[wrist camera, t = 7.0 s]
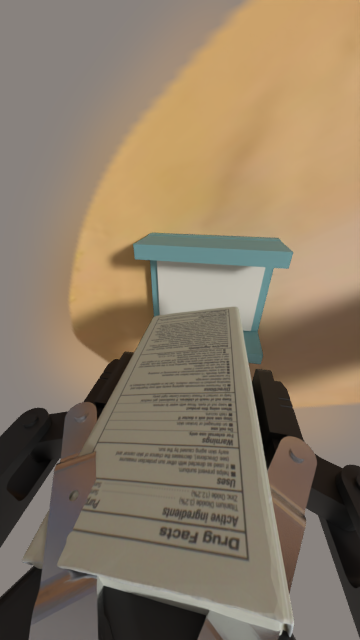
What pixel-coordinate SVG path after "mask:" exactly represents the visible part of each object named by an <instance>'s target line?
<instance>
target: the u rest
mask: <svg viewBox="0 0 360 640" xmlns="http://www.w3.org/2000/svg"><path fill="white" fill-rule="evenodd" d="M133 246H134V256H135V259H139V260H150V265H151V280H152V295H153V310H154V316H159V315H166V314H172V313H180V312H189V311H198V310H206V309H215V308H225V307H238V309H239V312H240V318H241V323H242V329H243V335H244V341H245V347H246V352H247V358H248V363H254V364H261V361H262V358H263V352H262V348H261V344H260V340H259V336H258V328H259V324H260V320H261V316H262V312H263V308H264V304H265V300H266V296H267V292H268V288H269V284H270V280H271V276H272V272H273V269H274V268H286V269H288V268H289V265H290V262H291V258H292V255H293V252H292V251H291V250H290V249H289V248H288V247H287V246H286V245H285V244H283V243H282V242H281V240H280V239H279V238H265V237H241V236H217V235H193V234H169V233H150V234H149V235H148V236H146V237H144V238H143V239H141V240H139V241H138V242H136V243H134V244H133Z"/></svg>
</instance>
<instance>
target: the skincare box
mask: <svg viewBox="0 0 360 640" xmlns="http://www.w3.org/2000/svg"><path fill="white" fill-rule="evenodd" d="M93 451H96V481H95V483H94V485H93V487H92V490H91V492H90V494H89V496H88V498H87V500H86V502H85V505H84V507H83V509H82V511H81V513H80V515H79V517H78V519H77V521H76V524H75V526H74V528H73V530H72V532H71V533H70V534H69V535H68V537H67V540H66V545H65V547H64V550H63V552H62V554H61V556H60V558H59V560H58V563H57V566H58V567H60V568H63V569H71V570H75V571H78V572H83V573H87V574H92V575H97V576H98V577H99V579H100V581H101V582H102V584H103V585H104V586H107V587H111V588H114V589H118V590H121V591H125V592H128V593H131V594H135V595H138V596H142V597H145V598H149V599H152V600H155V601H159V602H162V603H166V604H169V605H172V606H176V607H179V608H183V609H186V610H190V611H193V612H197V613H200V614H204V615H207V613H208V612H209V610H211V611H214V612H217V613H219V614H222V615H225V616H228V617H231V618H234V619H237V620H240V621H243V622H247V623H250V624H254V625H257V626H261V627H264V628H268V629H271V630H275V631H280V634H279V635H281V634H282V631H283V630H285V631H287V633H288V635H289V637H291V635H292V631H293V627H294V620H293V614H292V609H291V603H290V597H289V591H288V586H287V580H286V574H285V569H284V563H283V558H282V552H281V546H280V541H279V535H278V530H277V524H276V519H275V513H274V508H273V502H272V496H271V491H270V485H269V479H268V473H267V467H266V462H265V456H264V450H263V444H262V438H261V433H260V427H259V421H258V416H257V410H256V404H255V399H254V393H253V387H252V381H251V375H250V369H249V364H248V358H247V352H246V347H245V341H244V335H243V329H242V323H241V318H240V312H239V309H238V307H225V308H215V309H206V310H198V311H189V312H180V313H172V314H166V315H159V316H154V317H153V319H152V321H151V323H150V324H149V326H148V328H147V330H146V332H145V334H144V336H143V337H142V339H141V341H140V343H139V345H138V347H137V349H136V350H135V352H134V354H133V356H132V358H131V360H130V361H129V363H128V365H127V367H126V369H125V371H124V372H123V374H122V376H121V378H120V380H119V382H118V384H117V385H116V387H115V389H114V391H113V393H112V395H111V396H110V398H109V400H108V402H107V404H106V406H105V407H104V409H103V411H102V413H101V415H100V417H99V419H98V420H97V422H96V424H95V426H94V428H93V430H92V432H91V433H90V435H89V437H88V439H87V441H86V442H85V444H84V446H83V448H82V450H81V452H80V454H79V456H81V455H84V454H87V453H90V452H93ZM78 495H79V492H75V493H73V495H72V496H71V498H70V501H74V500H76V499H77V497H78ZM48 516H49V511H48V512H47V514H46V516H45V518H44V520H43V522H42V524H41V525H40V527H39V529H38V531H37V533H36V535H35V537H34V538H33V540H32V542H31V544H30V546H29V548H28V549H27V551H26V553H25V555H24V557H23V559H22V562H23V563H27V564H29V565H34V566H35V567H37V568H39V569H42V566H43V558H44V550H45V541H46V533H47V525H48Z"/></svg>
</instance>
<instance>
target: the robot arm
mask: <svg viewBox="0 0 360 640" xmlns="http://www.w3.org/2000/svg"><path fill="white" fill-rule="evenodd" d="M133 354H134V353H133V352H124V353H123V355H122V356H121V358H120V360H119V359H115V360H113V361H112V362H111V363H109V364H108V365H107V367H106V368H105V370H104V372H103V373H102V375H101V376H100V379H98V381H97V382H96V384H95V385H94V387H93V388H92V390H91V391H90V393H89V394H88V396H87V398H86V399H85V400H84V402H82V403H79V404H77V405H75V406H74V407H72V408H71V409H70V410H69V411H68V412H62V413H56V414H48V412H47V411H46V410H45V409H43V408H34V409H31V410H29V411H27V412H25V413H23V414H22V415H21V416H20V417H19V418H18V419H17V420H16V421H15V422H14V423H13V424H12V425H11V426H10V427H9V428H8V429H7V430H6V431H5V432H4V433H3V434H2V435H1V436H0V547H1V546H2V544H3V543H4V541H5V540H6V538H7V537H8V535H9V533H10V532H11V530H12V529H13V528H14V526H15V525H16V523H17V522H18V520H19V519H20V517H21V515H22V514H23V512H24V511H25V509H26V508H27V506H28V505H29V503H30V502H31V500H32V499H33V497H34V496H35V494H36V493H37V491H38V490H39V488H40V487H41V485H42V484H43V482H44V481H45V479H46V478H47V476H48V475H49V473H50V472H51V470H52V469H53V467H54V466H55V464H56V463H57V461H58V460H59V458H61V460H60V463H58V464H56V467H55V469H54V475H53V484H52V492H51V501H50V509H49V516H48V525H47V533H46V541H45V550H44V558H43V566H42V569H39V568H37V567H35V566H33V567H32V568H31V569H30V570H29V571H28V572H27V573H26V574H25V575H24V576H22V577H21V578H20V579H19V580H18V581H17V582H16V583H15V584H14V585H13V586H12V587H11V588H10V589H8V590H7V591H6V592H5V593H4V594H3V595H2V596H1V597H0V640H296V639H295V637H294V635H293V633H292V635H291V637H289V635H288V633H287V631H285V630H283V631H282V634H281V635H279V634H280V631H275V630H271V629H268V628H264V627H261V626H257V625H254V624H250V623H247V622H243V621H240V620H237V619H234V618H231V617H228V616H225V615H222V614H219V613H217V612H214V611H211V610H209V612H208V613H207V615H204V614H200V613H197V612H193V611H190V610H186V609H183V608H179V607H176V606H172V605H169V604H166V603H162V602H159V601H155V600H152V599H149V598H145V597H142V596H138V595H135V594H131V593H128V592H125V591H121V590H118V589H114V588H111V587H107V586H104V585H103V584H102V582H101V581H100V579H99V577H98V576H97V575H92V574H87V573H83V572H78V571H75V570H71V569H63V568H60V567H58V566H57V563H58V560H59V558H60V556H61V554H62V552H63V550H64V547H65V545H66V540H67V537H68V535H69V534H70V533H71V532H72V530H73V528H74V526H75V524H76V521H77V519H78V517H79V515H80V513H81V511H82V509H83V507H84V505H85V502H86V500H87V498H88V496H89V494H90V492H91V490H92V487H93V485H94V483H95V481H96V451H93V452H90V453H87V454H84V455H81V456H79V454H80V452H81V450H82V448H83V446H84V444H85V442H86V441H87V439H88V437H89V435H90V433H91V432H92V430H93V428H94V426H95V424H96V422H97V420H98V419H99V417H100V415H101V413H102V411H103V409H104V407H105V406H106V404H107V402H108V400H109V398H110V396H111V395H112V393H113V391H114V389H115V387H116V385H117V384H118V382H119V380H120V378H121V376H122V374H123V372H124V371H125V369H126V367H127V365H128V363H129V361H130V360H131V358H132V356H133ZM252 387H253V393H254V399H255V404H256V410H257V416H258V421H259V427H260V433H261V438H262V444H263V450H264V456H265V462H266V467H267V473H268V479H269V485H270V491H271V496H272V502H273V508H274V513H275V519H276V524H277V530H278V535H279V541H280V546H281V552H282V558H283V563H284V569H285V574H286V580H287V586H288V591H289V593H290V589H291V585H292V581H293V577H294V572H295V568H296V564H297V560H298V555H299V552H300V548H301V544H302V539H303V535H304V531H305V526H306V518H305V516H304V514H305V509H306V508H307V509H309V510H310V511H312V512H314V513H316V514H317V515H318V516H319V519H320V522H321V525H322V528H323V531H324V534H325V537H326V540H327V543H328V546H329V549H330V552H331V555H332V558H333V561H334V563H335V566H336V569H337V572H338V575H339V578H340V581H341V584H342V587H343V590H344V593H345V596H346V599H347V602H348V605H349V608H350V611H351V614H352V616H353V620H354V622H355V625H356V628H357V631H358V634H359V637H360V467H359V466H356V465H346V466H345V467H344V468H341V467H339V466H336V465H334V464H332V463H330V462H328V461H326V460H324V459H322V458H320V457H319V456H317V455H316V454H315V453H314V452H313V450H312V449H311V448H310V447H309V445H308V444H306V443H305V442H304V440H303V437H302V434H301V431H300V428H299V425H298V422H297V419H296V416H295V413H294V410H293V408H292V407H293V406H292V403H291V401H290V397H289V394H288V391H287V389H286V388H285V387H284V385H283V384H282V383H281V382H278V381H274V379H273V375H272V372H271V371H269V370H262V369H256V370H255V374H254V377H253V381H252ZM75 492H79V495H78V497H77V499H76V500H74V501H70V498H71V496H72V495H73V493H75Z"/></svg>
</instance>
